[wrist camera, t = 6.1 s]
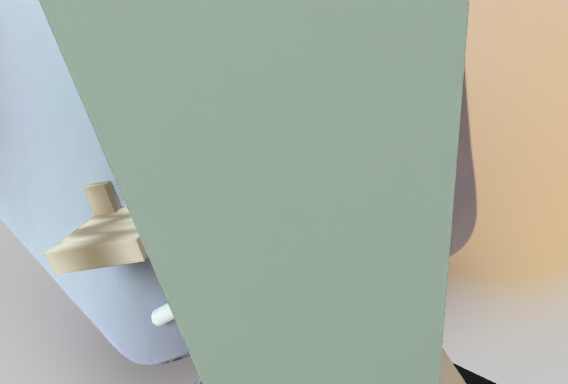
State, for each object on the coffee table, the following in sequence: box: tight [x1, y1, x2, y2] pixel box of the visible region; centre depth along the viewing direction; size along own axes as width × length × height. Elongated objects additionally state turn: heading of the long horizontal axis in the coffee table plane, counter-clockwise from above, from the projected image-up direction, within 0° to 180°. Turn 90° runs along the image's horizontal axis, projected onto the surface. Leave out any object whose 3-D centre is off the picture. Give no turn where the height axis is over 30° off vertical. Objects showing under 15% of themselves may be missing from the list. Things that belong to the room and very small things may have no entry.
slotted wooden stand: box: [44, 181, 148, 275], centre depth 25 cm, size 18×8×8 cm, turn 97°
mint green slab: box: [39, 0, 469, 384], centre depth 9 cm, size 18×2×10 cm, turn 9°
